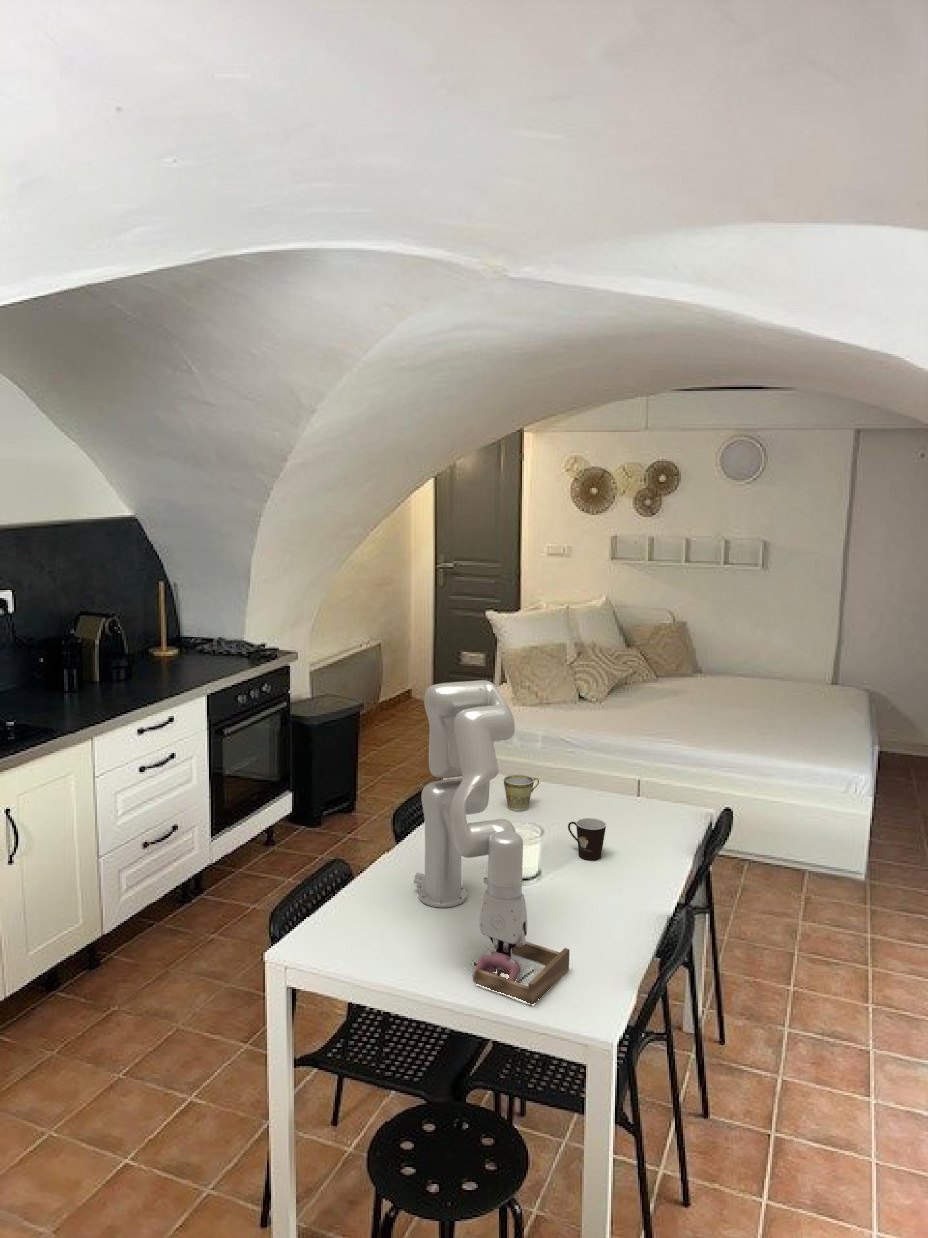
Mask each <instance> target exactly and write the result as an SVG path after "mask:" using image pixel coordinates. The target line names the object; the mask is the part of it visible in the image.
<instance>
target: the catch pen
mask: <svg viewBox="0 0 928 1238" xmlns="http://www.w3.org/2000/svg"><path fill="white" fill-rule="evenodd" d="M511 955H515V956H518V957H521V958H524V959H526V960H530V961H533V962H536V963H539V964H541V965H545V966H544V968H542V969H541V970H540V971H539V972H538V973H537V974H536V975H535V976H534V977H533V978H532V979H531V980H530V981H528V985H525V984H522V983H520V982H517V981H516V982H514V981H512V980H509V979H506V978H503V977H500V976H499V975H498V974H497V975H495V974H492V973H489V972H486V970H485V971H483V970H481V969H477V970H476V976H475V981H474V982H475V983H476V984H479V985H481V986H484V987H487V988H490V989H491V990H494V991H497V992H501V993H504V994H506V995H510V996H512V997H516V998H518V999H521V1000H523V1001H526V1002H527V1003H530V1004H534V1003H536V1002H537V1001H538V999H540V998H541V997H542V996H543V995H544V994H545V993H546V992H547V991H548V990H549V989H550V988H551V987H552V986H553V985H554V984H555V985H556V984H557V983H558V982H559V981H560V980H561V979H562V978H561V977H564V975H566V974H567V973H568V971H569V970H570V949H569V948H567V947H564V948H563V949H562V950H561V951H560V952H559V951H557V950H554V949H550V948H548V947H544V946H541V945H538V944H535V943H533V942H529V941H526V945H525V946H524V947H513V948H512V949H511ZM555 985H554V986H555ZM554 986H553V987H554ZM553 987H552V988H553ZM552 988H551V989H552ZM551 989H550V990H551ZM550 990H549V991H550ZM549 991H548V992H549ZM548 992H547V993H548ZM547 993H546V994H547ZM546 994H545V995H546ZM545 995H544V996H545ZM544 996H543V997H544ZM543 997H542V998H543ZM542 998H541V999H542ZM541 999H540V1000H541ZM538 1002H539V1001H538ZM538 1002H537V1003H538ZM537 1003H536V1004H537Z"/></svg>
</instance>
